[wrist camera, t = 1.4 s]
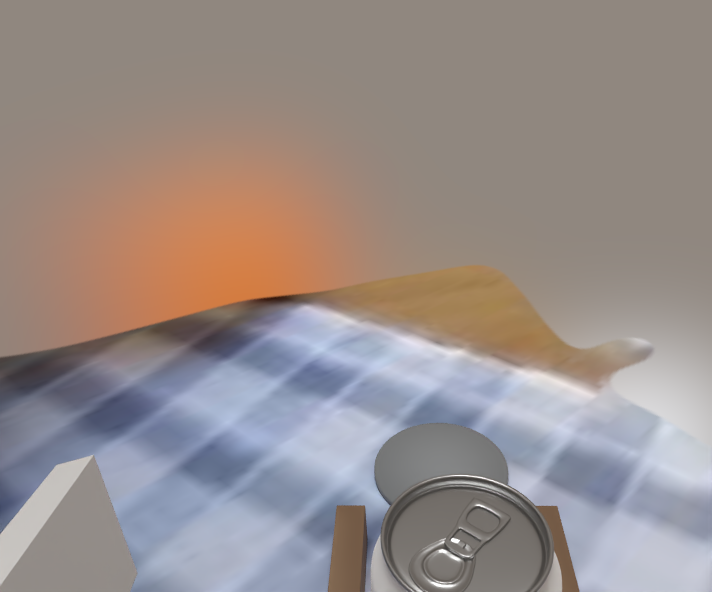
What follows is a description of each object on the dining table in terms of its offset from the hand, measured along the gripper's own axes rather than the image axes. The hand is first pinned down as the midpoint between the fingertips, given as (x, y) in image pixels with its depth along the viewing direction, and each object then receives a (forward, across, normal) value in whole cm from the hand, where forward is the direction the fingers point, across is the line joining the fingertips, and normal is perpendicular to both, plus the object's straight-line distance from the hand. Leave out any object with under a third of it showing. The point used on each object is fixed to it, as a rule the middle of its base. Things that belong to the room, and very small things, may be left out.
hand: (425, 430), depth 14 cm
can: (+11, -1, -19) cm, 22 cm away
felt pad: (+25, +2, -14) cm, 29 cm away
